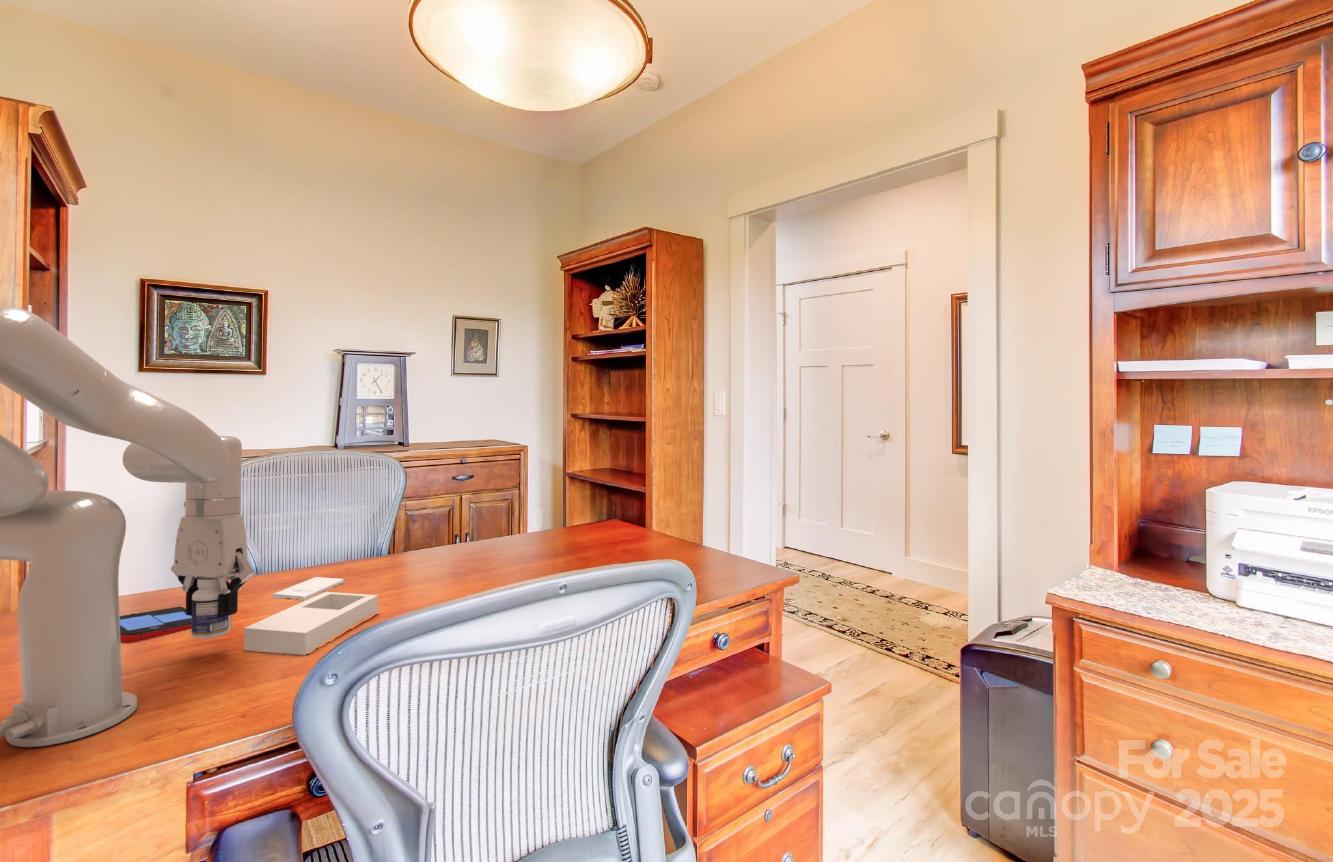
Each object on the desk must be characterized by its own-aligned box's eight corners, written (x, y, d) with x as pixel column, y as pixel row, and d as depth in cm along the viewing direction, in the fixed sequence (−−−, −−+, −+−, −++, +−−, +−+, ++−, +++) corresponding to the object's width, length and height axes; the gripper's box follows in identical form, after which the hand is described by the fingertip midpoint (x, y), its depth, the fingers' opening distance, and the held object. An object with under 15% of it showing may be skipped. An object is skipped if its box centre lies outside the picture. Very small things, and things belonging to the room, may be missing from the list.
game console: (210, 626, 116) (209, 615, 116) (124, 648, 105) (123, 636, 105) (183, 610, 124) (182, 600, 124) (100, 629, 113) (100, 618, 113)
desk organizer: (305, 655, 102) (305, 632, 102) (244, 650, 104) (243, 628, 104) (378, 614, 122) (378, 595, 122) (325, 610, 124) (325, 591, 124)
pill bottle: (199, 630, 103) (200, 573, 103) (236, 627, 104) (237, 572, 104) (184, 640, 98) (185, 581, 97) (223, 638, 99) (224, 579, 99)
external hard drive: (344, 585, 142) (304, 603, 130) (314, 583, 144) (271, 600, 131) (344, 578, 142) (304, 595, 130) (314, 576, 143) (271, 593, 131)
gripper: (147, 509, 98) (146, 617, 98) (239, 513, 96) (237, 624, 96) (190, 503, 106) (188, 604, 106) (276, 507, 103) (274, 610, 103)
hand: (211, 613), depth 101 cm, fingers closed on pill bottle, 5 cm apart
